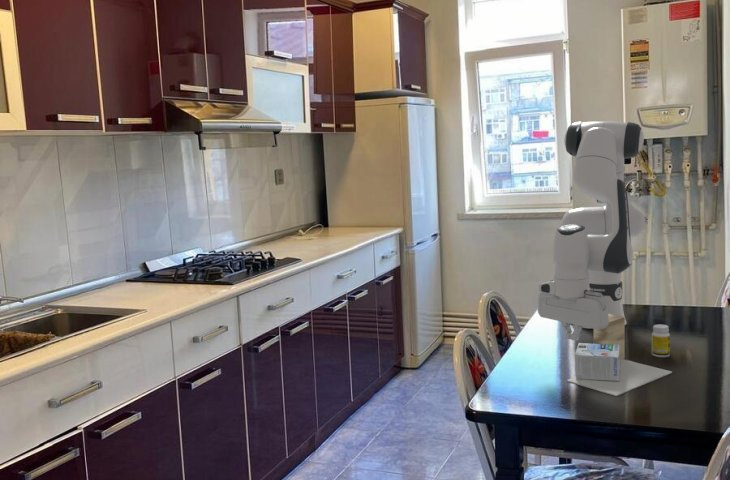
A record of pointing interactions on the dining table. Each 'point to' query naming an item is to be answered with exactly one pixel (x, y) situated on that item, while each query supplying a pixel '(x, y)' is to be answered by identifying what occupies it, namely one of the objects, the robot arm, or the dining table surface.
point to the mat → (624, 378)
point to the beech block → (612, 333)
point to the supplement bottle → (660, 341)
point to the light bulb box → (598, 362)
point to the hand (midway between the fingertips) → (572, 339)
